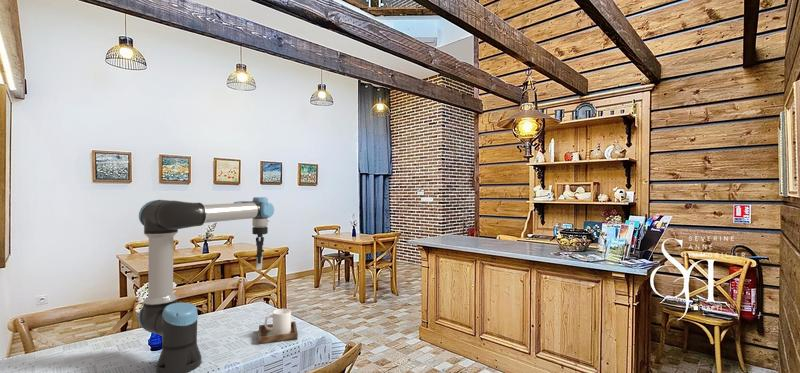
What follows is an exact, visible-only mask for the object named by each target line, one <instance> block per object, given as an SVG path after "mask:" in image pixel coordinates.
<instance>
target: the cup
mask: <svg viewBox="0 0 800 373" xmlns="http://www.w3.org/2000/svg"><path fill="white" fill-rule="evenodd" d="M269 318H272V324H273V327H271V328H270V327H268V326H267V324H268V319H269ZM291 322H292V310H291V308H290V309H289V308H279V309H275V310H273V312H272V314H269V315H267V316H265V319H264V322H263V323H264V324H263V325H265V328H266V329H267V330H273V334H274V335H279V334H288V333H290V331H291Z"/></svg>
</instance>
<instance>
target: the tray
mask: <svg viewBox="0 0 800 373" xmlns="http://www.w3.org/2000/svg"><path fill="white" fill-rule="evenodd" d="M267 326H268V327H270V328H271V327H273V323H267ZM298 335H299V334H298V329H297V324H296V321H291V331H290V333H288V334H279V335H274V334H273V330H267V329H266V328H265V324H259V325H258V336H257V337H258V339H257V340H258V342H257V343H258V345H265V344H272V343H273V344H274V343H281V341H283V342H291V341H296V340H299V338H298ZM290 340H291V341H290Z"/></svg>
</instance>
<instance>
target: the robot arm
mask: <svg viewBox="0 0 800 373" xmlns="http://www.w3.org/2000/svg"><path fill="white" fill-rule="evenodd" d="M274 212H275V207H274V205H273V204H272V203H271V202H269V199H268V197H267V196H266V197H265V196H264V197H263V196H258V197H256V196H255V197H252V200H251V201H249V200H248V201H247V200H246V201H245V200H242V201H241V200H240V201H234V202H233V203H217V204H216V203H214V204H203V203H202V202H186V201H179V200H170V199H169V200H168V199H167V200H166V199H156V200H151V201H148V202H145V204H144V205H142V206H141V208H140V210H139V212H138V220H139V222H140V224H141V225H142V226H143V234H144V235H145V236H146V237H147V238H148V267H147V268H148V272H147V273H148V275H147V276H148V281H147V282H148V287H147V288H148V290H147V291H148V292H147V294H148V295H147V297H146V299H145V300H144V301H143V306H142V308H141V309H140V310H139V312H138V314H137V315H138V316H137V321H138V324H139V326H140V327H141V328H142V329H144V330H145V331H147V332H149V333H151V334H156V335H159V336H161V337H162V338H161V340H162V345H161V346H162V347H161V348H162V349H161V352H160V355H159V357H158V359H157V362H156V369H155V371H156V373H188V372H191V371H193V370H195V369H197V368H198V367H200V366H201V364H202V354H201V351H200V348H199V346H198V318H199V315H198V308H197V306H196V305H194V303H192V302H191V303H190V302H178V296H177V295H175V293H174V238H175V235H176V234H177V233H179V230H181V229H187V228H194V227H201V226H203V225H204V224H208V223H209V224H210V223H218V222H228V221H236V220H237V221H238V220H239V221H240V220H246V219H248V220H249V219H252V220H251V221H252V235H255V236H256V235H257V236H256V237H255V243H256V244H255V246H256V255H255V256H254V257H255V258H256V263H255V264H256V265H255V266H256V268H255V270H256V271H259V270H261V271H262V270H263V259H264V258H263V257H264V254H263V252H265V250H264V249H263V246H264V241H265V237H264V236H263V235H267V234H268V232H269V230H268V225H269V223H268V222H270V220H269V218H271V217H272V216H273V215H274Z"/></svg>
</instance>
